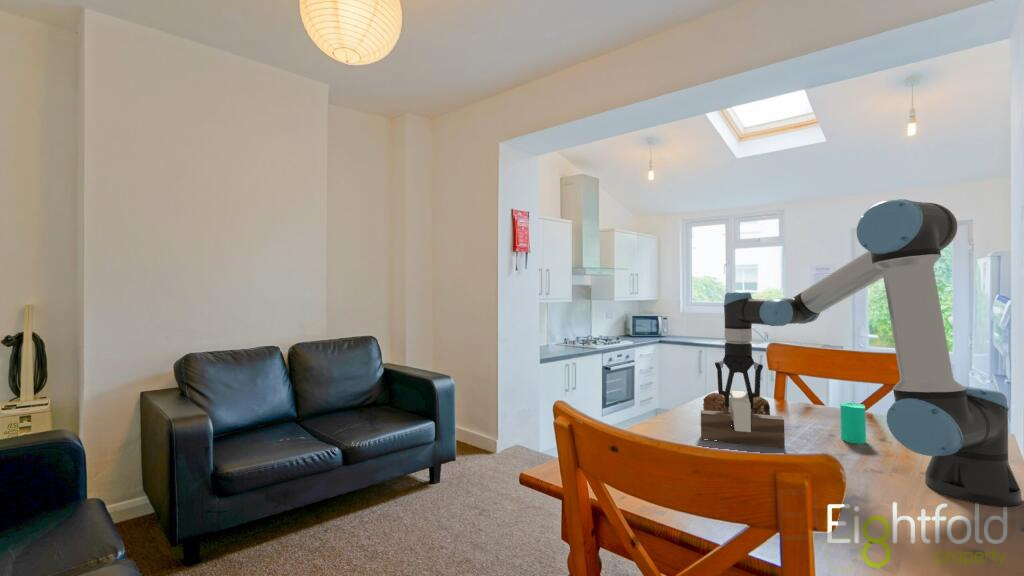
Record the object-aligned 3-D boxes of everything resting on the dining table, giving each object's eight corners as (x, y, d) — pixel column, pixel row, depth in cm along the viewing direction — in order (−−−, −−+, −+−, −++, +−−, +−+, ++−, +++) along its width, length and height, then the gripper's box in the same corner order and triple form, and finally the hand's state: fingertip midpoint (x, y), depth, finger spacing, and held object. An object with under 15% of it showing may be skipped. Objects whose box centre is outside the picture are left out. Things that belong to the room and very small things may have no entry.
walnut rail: (784, 447, 133) (784, 419, 133) (701, 439, 141) (700, 413, 141) (782, 443, 137) (781, 416, 137) (701, 436, 145) (700, 410, 145)
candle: (857, 437, 142) (857, 397, 142) (870, 443, 136) (870, 402, 136) (836, 437, 142) (835, 397, 142) (848, 443, 136) (848, 402, 136)
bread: (715, 427, 155) (714, 396, 155) (702, 418, 165) (701, 390, 166) (772, 426, 155) (771, 396, 155) (755, 417, 165) (754, 389, 165)
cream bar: (750, 432, 131) (750, 403, 131) (735, 430, 133) (734, 402, 133) (745, 417, 146) (744, 391, 146) (730, 416, 148) (730, 390, 148)
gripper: (767, 341, 144) (768, 417, 144) (707, 339, 151) (708, 412, 151) (771, 344, 137) (772, 424, 137) (708, 342, 144) (709, 419, 144)
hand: (738, 418), depth 144 cm, fingers closed on cream bar, 4 cm apart
